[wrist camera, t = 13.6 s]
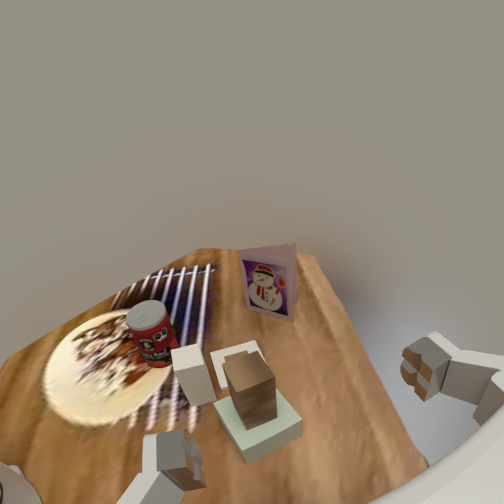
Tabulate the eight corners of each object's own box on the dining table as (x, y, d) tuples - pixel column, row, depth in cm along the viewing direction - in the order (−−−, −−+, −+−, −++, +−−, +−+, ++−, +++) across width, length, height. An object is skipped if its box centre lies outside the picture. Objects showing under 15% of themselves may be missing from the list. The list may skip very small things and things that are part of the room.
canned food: (140, 368, 50) (119, 327, 45) (150, 340, 57) (133, 300, 52) (176, 369, 50) (159, 327, 45) (183, 340, 57) (169, 298, 52)
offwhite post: (191, 406, 42) (173, 371, 38) (187, 387, 46) (170, 350, 41) (217, 400, 43) (203, 364, 39) (211, 381, 47) (198, 343, 42)
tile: (221, 390, 45) (220, 387, 45) (210, 355, 53) (209, 351, 52) (271, 375, 47) (271, 372, 47) (255, 342, 55) (254, 339, 54)
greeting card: (244, 311, 64) (235, 251, 57) (261, 292, 69) (255, 236, 62) (291, 325, 58) (289, 262, 51) (305, 304, 64) (305, 244, 56)
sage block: (247, 464, 33) (241, 450, 30) (220, 421, 40) (213, 403, 37) (300, 436, 36) (302, 419, 33) (270, 398, 43) (267, 377, 40)
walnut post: (246, 430, 32) (236, 392, 28) (233, 406, 36) (221, 363, 31) (277, 417, 34) (274, 376, 29) (263, 394, 38) (257, 350, 33)
